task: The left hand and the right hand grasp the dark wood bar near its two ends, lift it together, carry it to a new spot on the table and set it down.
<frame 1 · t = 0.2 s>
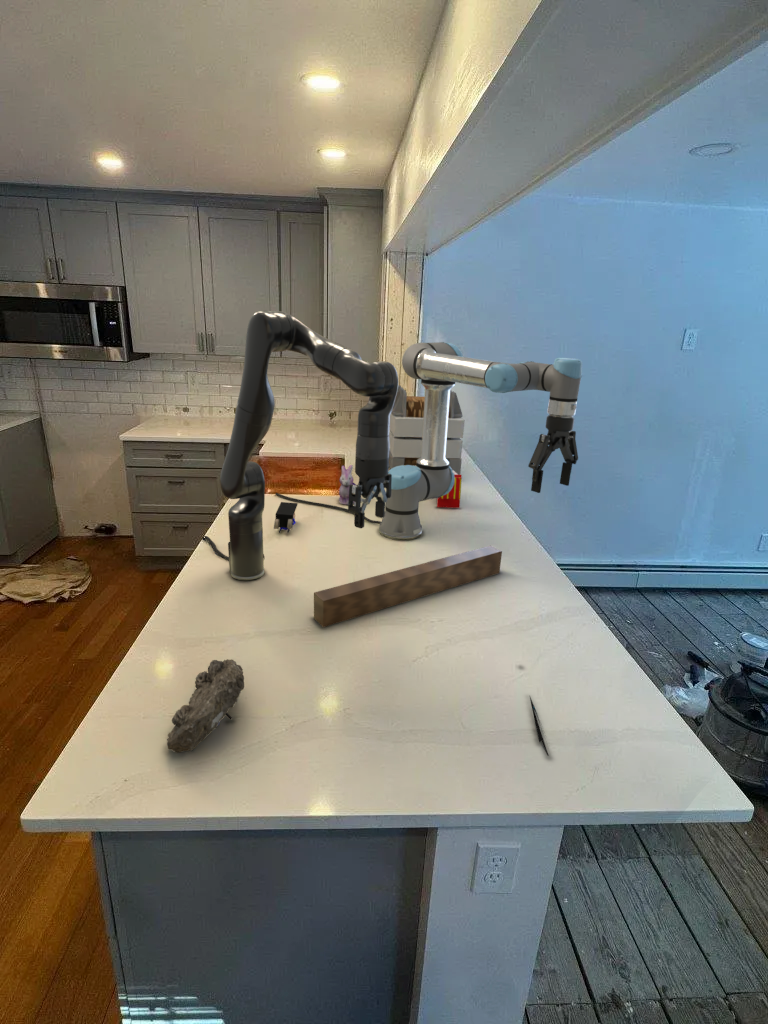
left hand: (369, 522, 132), 28 cm above the counter, tool pointing down, fingers open, 8 cm apart
right hand: (550, 488, 166), 27 cm above the counter, tool pointing down, fingers open, 13 cm apart
figurine character: (286, 528, 200), on the counter
fossil: (212, 717, 108), on the counter
feather: (532, 708, 115), on the counter
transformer: (419, 473, 275), on the counter
figurine: (348, 501, 231), on the counter
bar: (415, 593, 159), on the counter
toy: (443, 497, 241), on the counter
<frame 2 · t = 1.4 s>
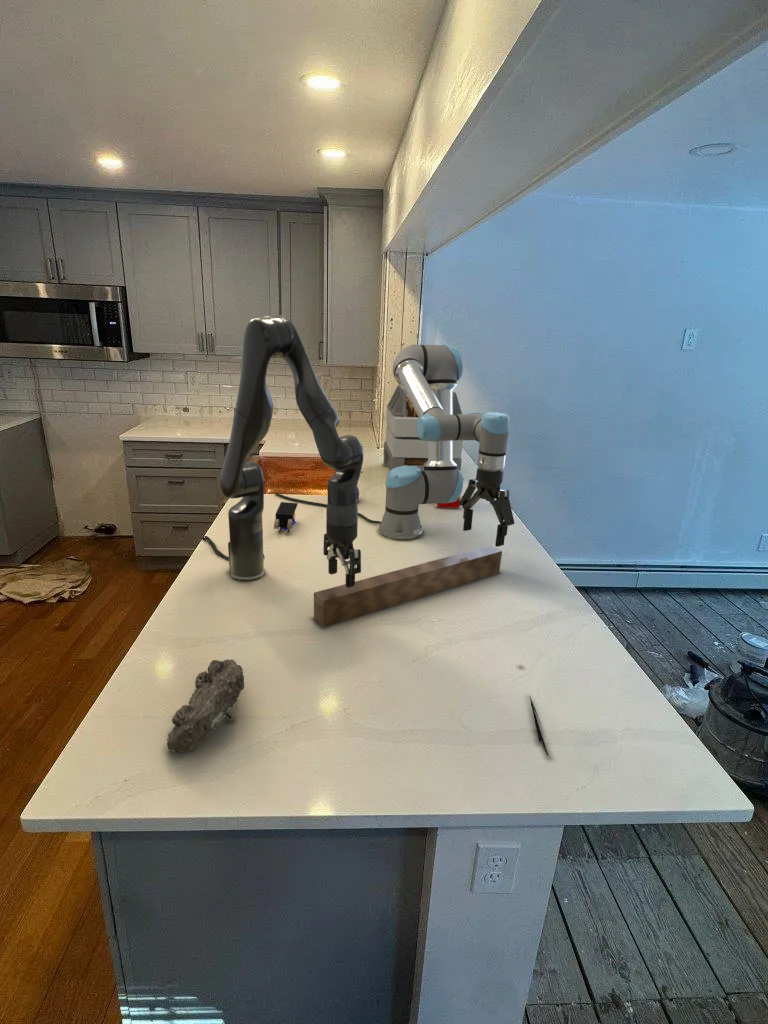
left hand: (341, 579, 142), 10 cm above the counter, tool pointing down, fingers open, 8 cm apart
right hand: (482, 537, 168), 12 cm above the counter, tool pointing down, fingers open, 13 cm apart
nothing on the counter moved.
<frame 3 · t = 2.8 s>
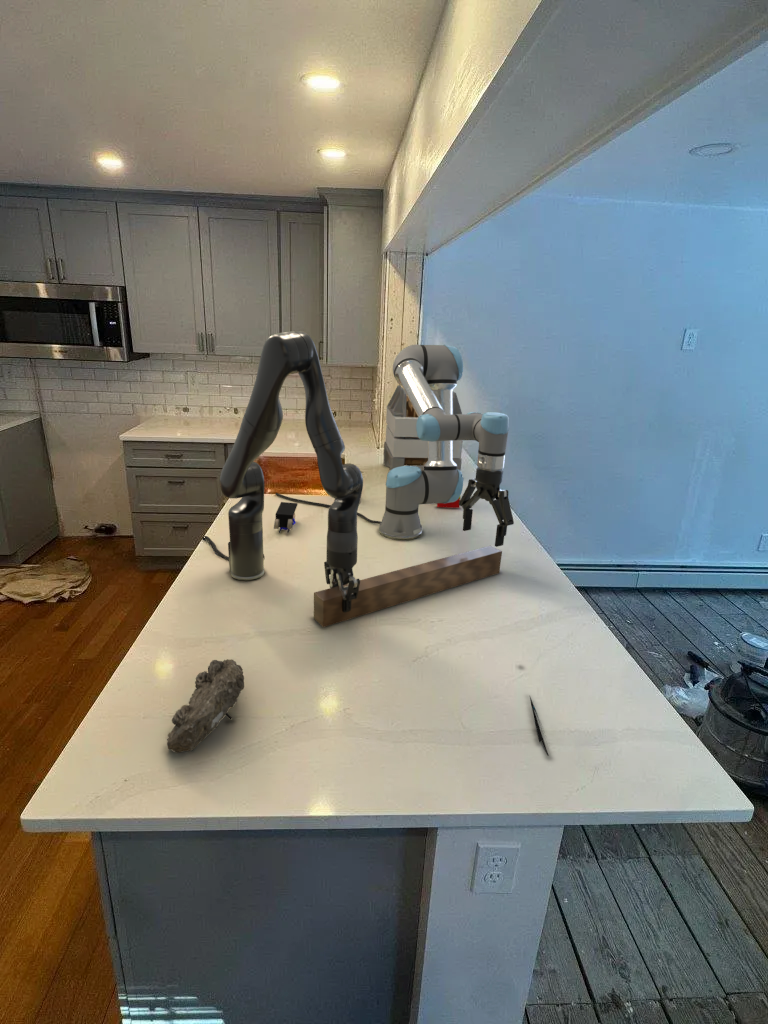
left hand: (340, 606, 144), 3 cm above the counter, tool pointing down, fingers closed on bar, 5 cm apart
right hand: (482, 537, 168), 12 cm above the counter, tool pointing down, fingers open, 13 cm apart
bar: (415, 593, 159), on the counter, touching left hand
everything else where it was.
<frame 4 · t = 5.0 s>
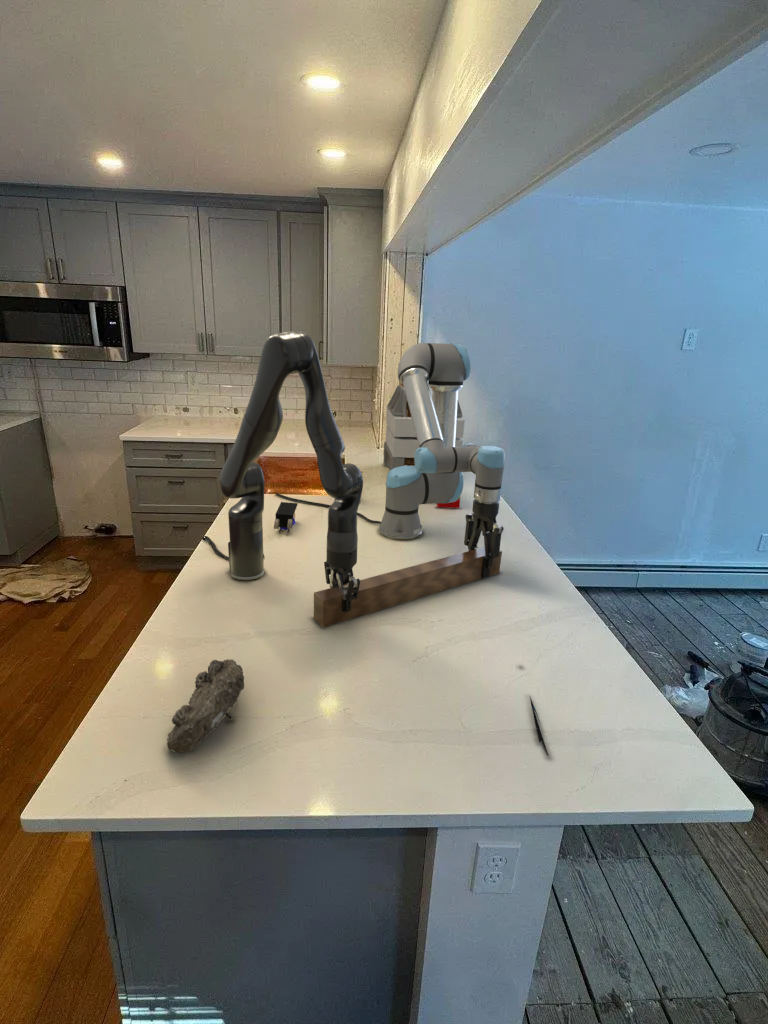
left hand: (340, 606, 144), 3 cm above the counter, tool pointing down, fingers closed on bar, 5 cm apart
right hand: (478, 572, 172), 1 cm above the counter, tool pointing down, fingers closed on bar, 5 cm apart
bar: (415, 593, 159), on the counter, touching right hand, left hand
everything else where it was.
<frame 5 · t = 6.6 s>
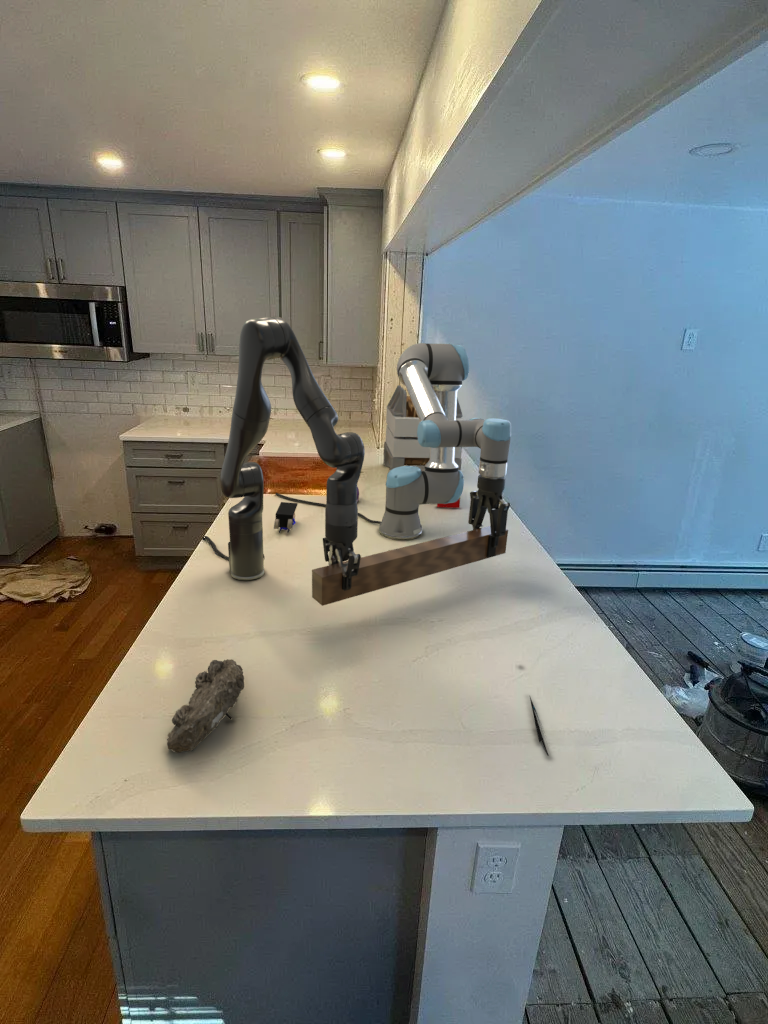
left hand: (340, 584, 137), 11 cm above the counter, tool pointing down, fingers closed on bar, 5 cm apart
right hand: (483, 552, 164), 9 cm above the counter, tool pointing down, fingers closed on bar, 5 cm apart
bar: (418, 573, 151), point 9 cm above the counter, touching right hand, left hand
everything else where it was.
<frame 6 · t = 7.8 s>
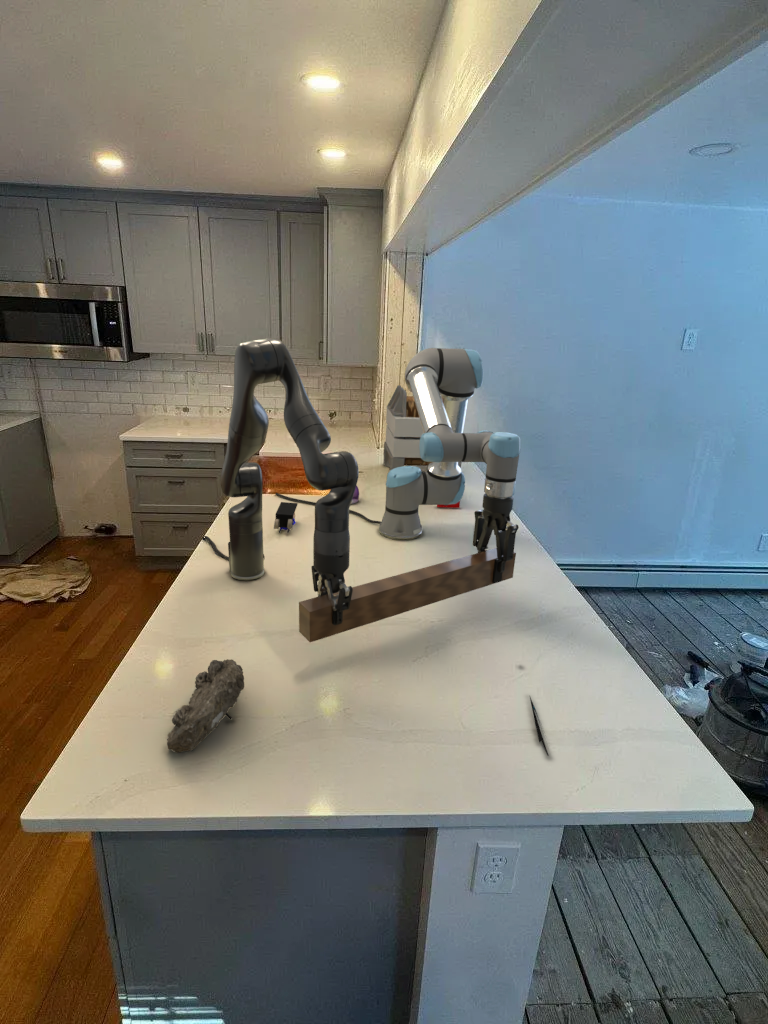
left hand: (330, 617, 124), 11 cm above the counter, tool pointing down, fingers closed on bar, 5 cm apart
right hand: (489, 577, 151), 8 cm above the counter, tool pointing down, fingers closed on bar, 5 cm apart
bar: (417, 601, 138), point 8 cm above the counter, touching right hand, left hand
everything else where it was.
when the right hand's fingers open (2 cm above the counter, at t = 8.6 s): bar drops 2 cm, on the counter.
when the left hand's fingers open (4 cm above the counter, at t = 8.8 s): bar stays where it is, on the counter.
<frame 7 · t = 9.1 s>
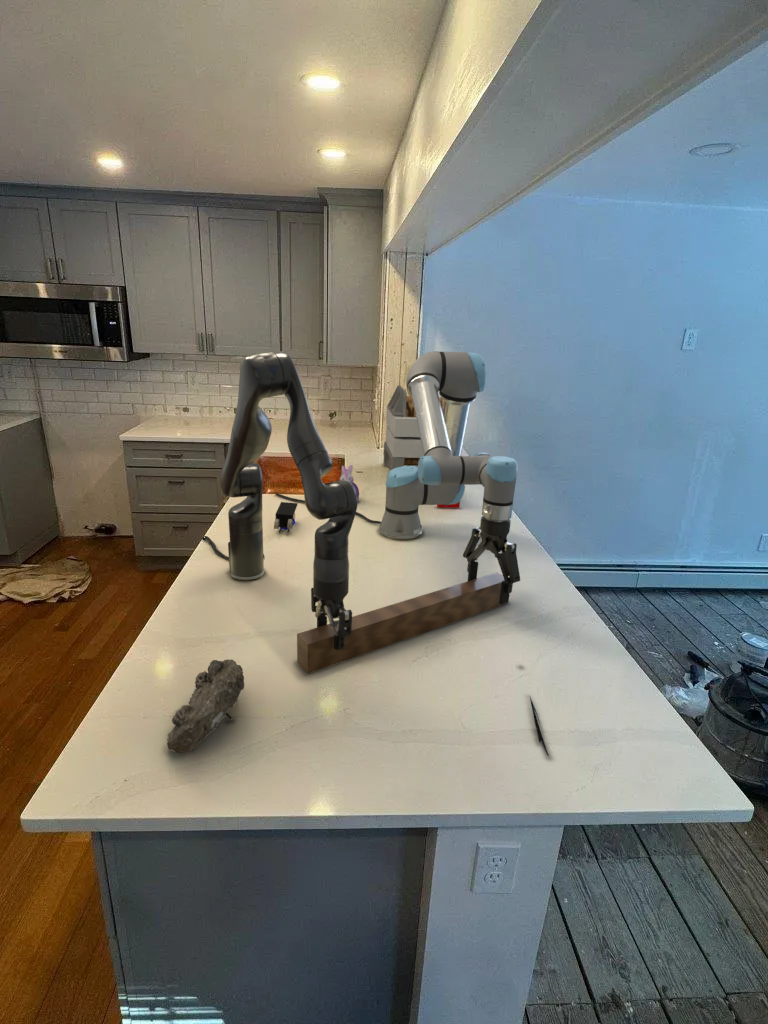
left hand: (330, 640, 126), 5 cm above the counter, tool pointing down, fingers open, 7 cm apart
right hand: (487, 593, 152), 4 cm above the counter, tool pointing down, fingers open, 11 cm apart
bar: (413, 629, 141), on the counter
everything else where it was.
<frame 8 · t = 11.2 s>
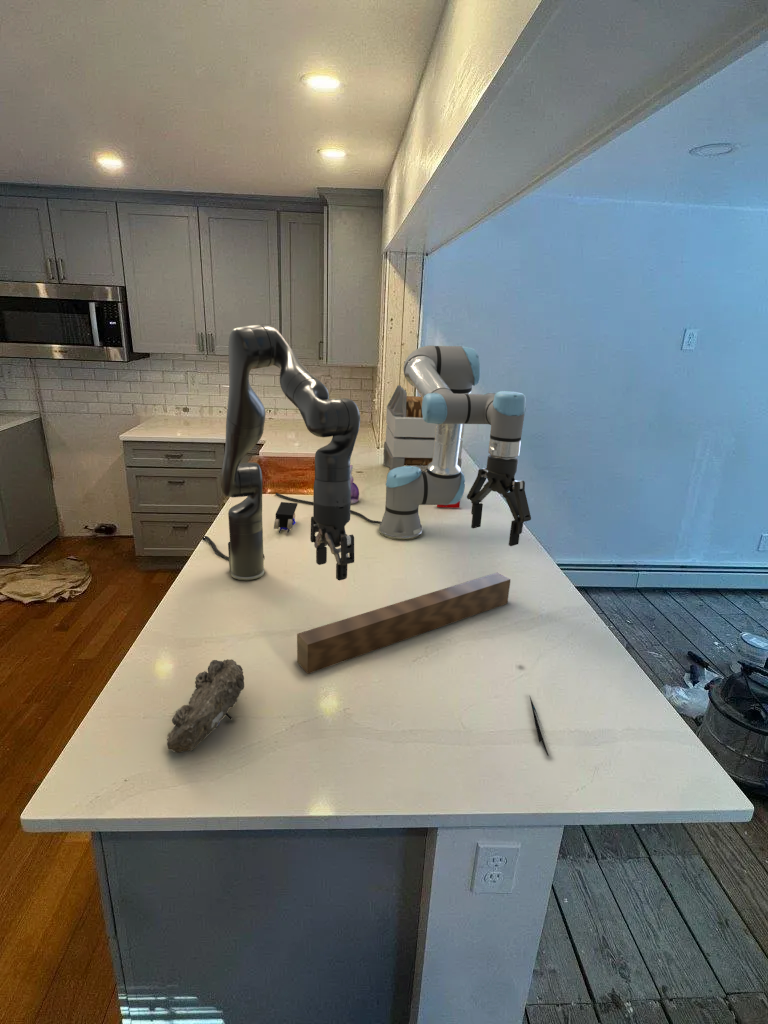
left hand: (331, 571, 120), 22 cm above the counter, tool pointing down, fingers open, 8 cm apart
right hand: (493, 535, 147), 20 cm above the counter, tool pointing down, fingers open, 13 cm apart
nothing on the counter moved.
at the end: bar inside the target area (0.4 cm from its centre), on the counter; bar tilted 0°; bar never tilted more than 2° during the clip; both hands held the bar at the same time; the left hand is holding nothing; the right hand is holding nothing; bar at rest at the end (0.0 cm/s) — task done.
